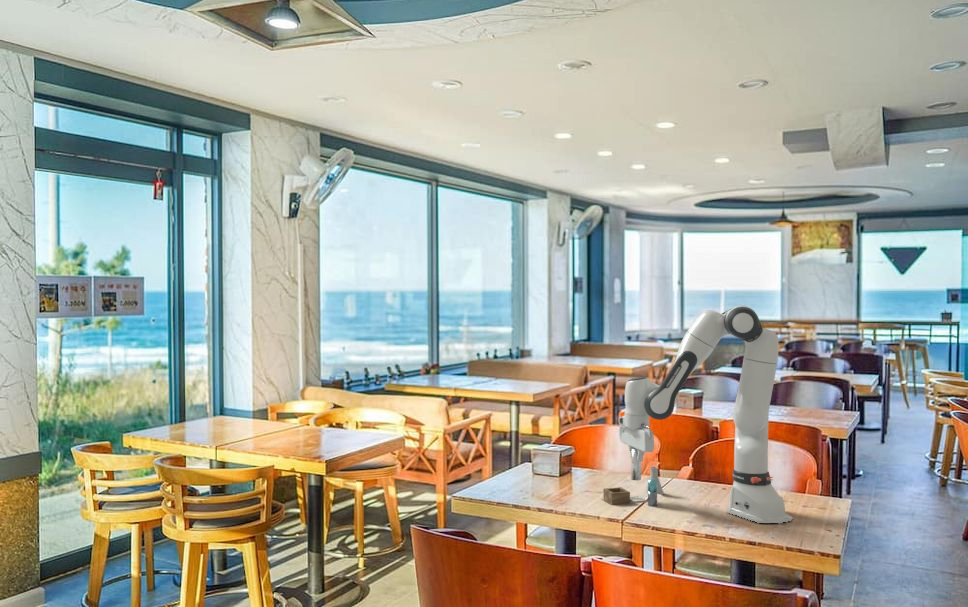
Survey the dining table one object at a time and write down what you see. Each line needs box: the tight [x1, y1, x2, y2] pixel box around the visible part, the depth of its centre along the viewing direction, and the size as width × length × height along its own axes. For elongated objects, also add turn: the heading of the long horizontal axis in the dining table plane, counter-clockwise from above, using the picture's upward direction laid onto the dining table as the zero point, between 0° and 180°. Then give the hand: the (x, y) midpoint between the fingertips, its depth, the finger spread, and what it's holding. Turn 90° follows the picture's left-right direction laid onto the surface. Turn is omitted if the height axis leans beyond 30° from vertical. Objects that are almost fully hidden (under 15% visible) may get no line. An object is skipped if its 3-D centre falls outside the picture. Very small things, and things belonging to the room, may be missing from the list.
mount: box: [601, 487, 648, 506], centre depth 273 cm, size 8×15×5 cm, turn 106°
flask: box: [644, 466, 665, 496], centre depth 286 cm, size 7×7×10 cm
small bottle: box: [647, 478, 658, 508], centre depth 267 cm, size 3×3×10 cm
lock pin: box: [630, 448, 642, 481], centre depth 274 cm, size 3×3×11 cm
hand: (636, 459), depth 274 cm, fingers closed on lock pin, 3 cm apart
